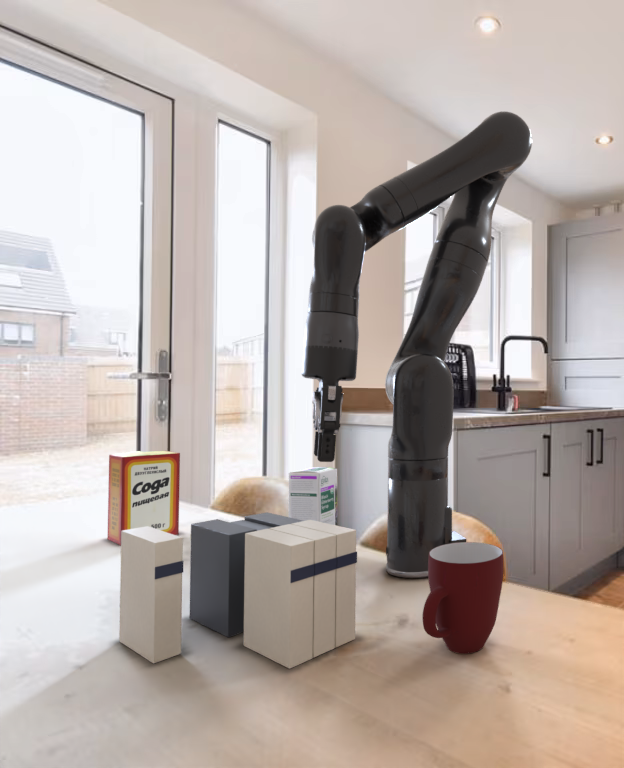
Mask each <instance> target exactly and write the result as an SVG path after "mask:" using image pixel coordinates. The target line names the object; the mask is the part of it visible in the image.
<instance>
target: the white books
mask: <svg viewBox="0 0 624 768" xmlns="http://www.w3.org/2000/svg"><path fill="white" fill-rule="evenodd" d="M357 563H358V551H357V529H355V528H349V527H344V526H340V525H338V526H336V525H332V524H327V523H323V522H318V521H314V520H306V521H301V522H297V523H292V524H287V525H282V526H278V527H273V528H269V529H263V530H259V531H254V532H249V533H245V576H244V632H243V646H244V647H246V648H247V649H249V650H251V651H253V652H255V653H258V654H259V655H261V656H262V657H264V658H265V657H266V658H267V659H268V660H271V661H273V662H275V663H277V664H279V665H281V666H283V667H285V668H287V669H289V670H290V669H292V668H295V667H298V666H299V665H301V664H304V663H306V662H308V661H310V660H312V659H315V658H316V657H318V656H322V655H323V654H325V653H328V652H329V651H333V650H334V649H335V648H338V647H341V646H344V645H345V644H347V643H349V642H351V641H354V640H355V639H356V606H357V605H356V604H357V603H356V602H357V600H356V599H357V598H356V597H357V596H356V595H357V594H356V593H357V589H356V588H357Z"/></svg>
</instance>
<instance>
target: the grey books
mask: <svg viewBox="0 0 624 768" xmlns="http://www.w3.org/2000/svg"><path fill="white" fill-rule="evenodd" d="M301 521H303V520H299V519H294V518H290V517H289V516H287V515H281V514H276V513H272V512H269V511H268V512H267V511H266V512H261V513H256V514H250V515H245V516H244V519H240V520H235V521H227V520H223V519H222V520H221V519H218V518H216V519H210V520H205V521H199V522H194V523H191V524H190V556H189V557H190V560H189V561H190V562H189V564H190V566H189V568H190V569H189V619H190V620H192V621H194V622H196V623H198V624H200V625H203V626H204V627H207V628H208V629H210V630H212V631H214V632H216V633H218V634H220V635H222V636H224V637H226V638H231V637H232V636H236V635H238V634H242V633H244V576H245V533H249V532H254V531H259V530H263V529H269V528H273V527H278V526H282V525H287V524H292V523H297V522H301Z"/></svg>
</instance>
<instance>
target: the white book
mask: <svg viewBox="0 0 624 768" xmlns="http://www.w3.org/2000/svg"><path fill="white" fill-rule="evenodd" d="M183 556H184V537H182V536H179V535H173V534H170V533H167V532H164V531H161V530H158V529H155V528H152V527H149V526H146V527H140V528H134V529H128V530H123V531H121V545H120V579H119V581H120V583H119V629H118V630H119V633H118V636H119V637H118V638H119V639H118V641H119V642H120V643H121V644H123V645H124V646H126V647H127V648H129V649H131V650H132V651H133V652H135V654H138V655H140V656H141V657H142V658H144V659H146V660H147V661H149V662H150V663H152V664H157V663H159V662H162V661H164V660H168V659H170V658H173V657H177V656H178V655H181V654H182V625H183V624H182V619H183V617H182V614H183V573H184V559H183V558H184V557H183Z"/></svg>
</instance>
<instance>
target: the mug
mask: <svg viewBox="0 0 624 768" xmlns="http://www.w3.org/2000/svg"><path fill="white" fill-rule="evenodd" d="M427 578H428V586H429V594H428V596H427V597H426V599H425V602H424V605H423V608H422V609H423V610H422V626H423V629H424V631H425V633H426V634H427V635H428V636H430V637H432V638H435V639H442V640H443V642H444V644H445V646H446V648H447V649H448V650H449V651H450V652H452V653H455V654H459V655H469V654H475V653H477V652H480V651H481V650H482V649H483V648H484V647H485V645H486V643H487V642H488V639H489V638H490V636H491V633H492V631H493V629H494V627H495V625H496V621H497V616H498V612H499V605H500V600H501V594H502V588H503V580H504V551H503V549H502V548H501V547H499V546H497V545H495V544H491V543H485V542H476V541H475V542H474V541H466V542H460V543H451V544H445V545H441V546H438V547H436V548H434V549H432V550H431V551H430V552H429V560H428V577H427Z"/></svg>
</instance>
